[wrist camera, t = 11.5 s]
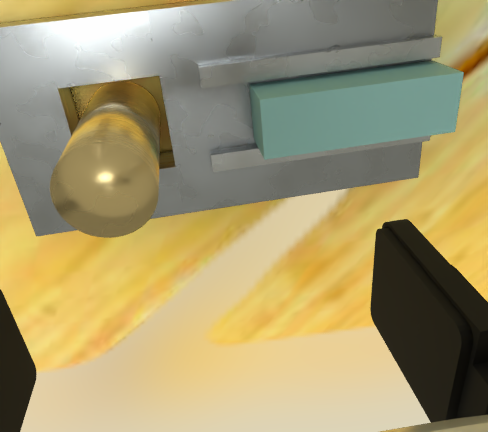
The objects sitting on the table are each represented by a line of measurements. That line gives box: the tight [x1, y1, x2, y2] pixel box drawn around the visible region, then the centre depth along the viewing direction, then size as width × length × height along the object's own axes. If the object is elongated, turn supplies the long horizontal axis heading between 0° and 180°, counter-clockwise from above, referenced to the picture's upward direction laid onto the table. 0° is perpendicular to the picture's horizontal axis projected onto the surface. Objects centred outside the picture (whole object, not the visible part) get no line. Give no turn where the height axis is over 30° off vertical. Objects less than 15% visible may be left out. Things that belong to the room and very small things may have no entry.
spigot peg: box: [50, 81, 160, 237], centre depth 22 cm, size 4×4×10 cm
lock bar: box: [250, 61, 464, 160], centre depth 24 cm, size 10×3×3 cm, turn 95°
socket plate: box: [0, 0, 442, 236], centre depth 25 cm, size 23×11×3 cm, turn 95°
